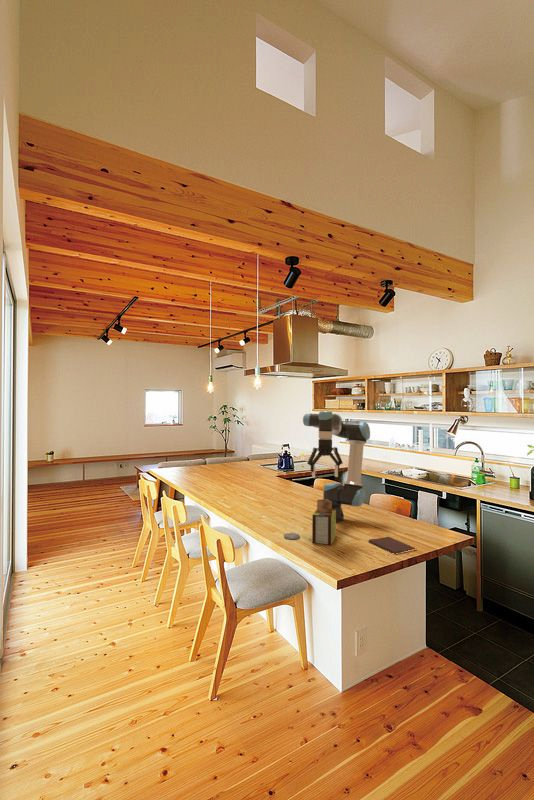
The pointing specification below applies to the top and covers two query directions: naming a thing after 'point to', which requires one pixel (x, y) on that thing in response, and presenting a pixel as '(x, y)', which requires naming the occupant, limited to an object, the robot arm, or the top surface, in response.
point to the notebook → (391, 545)
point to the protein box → (324, 527)
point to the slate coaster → (291, 536)
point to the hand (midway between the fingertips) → (324, 477)
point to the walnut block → (324, 506)
